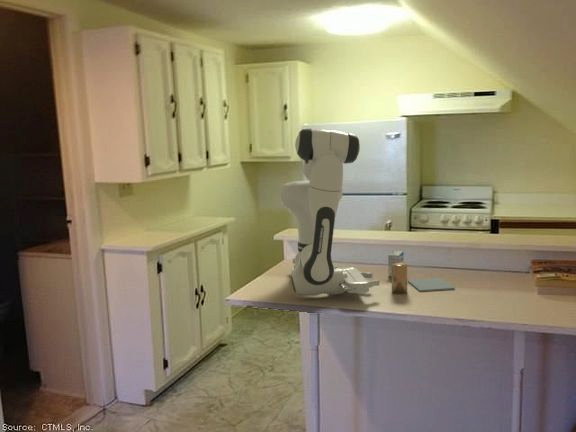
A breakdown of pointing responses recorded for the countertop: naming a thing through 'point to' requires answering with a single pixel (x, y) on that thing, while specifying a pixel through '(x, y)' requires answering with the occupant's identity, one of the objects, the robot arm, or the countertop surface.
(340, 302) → the countertop surface
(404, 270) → the tea tin
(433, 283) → the mat
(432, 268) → the countertop surface
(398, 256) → the medicine box
